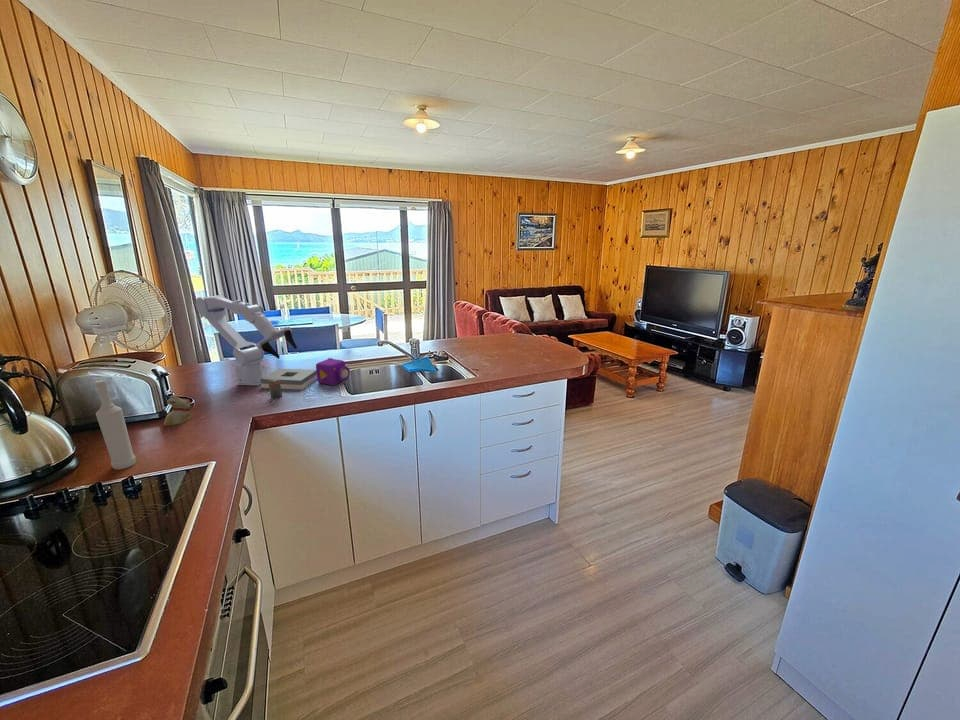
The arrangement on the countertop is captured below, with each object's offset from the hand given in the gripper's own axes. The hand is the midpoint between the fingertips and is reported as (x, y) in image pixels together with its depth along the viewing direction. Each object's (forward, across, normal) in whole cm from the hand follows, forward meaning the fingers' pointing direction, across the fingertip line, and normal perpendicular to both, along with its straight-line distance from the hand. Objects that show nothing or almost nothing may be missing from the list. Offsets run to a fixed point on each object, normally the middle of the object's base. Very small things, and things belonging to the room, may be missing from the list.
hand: (287, 352), depth 161 cm
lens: (+11, -13, +8) cm, 18 cm away
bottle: (+14, -59, -17) cm, 63 cm away
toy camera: (+18, +11, +12) cm, 24 cm away
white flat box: (+5, -2, +18) cm, 19 cm away
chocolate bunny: (+2, -43, +2) cm, 43 cm away
